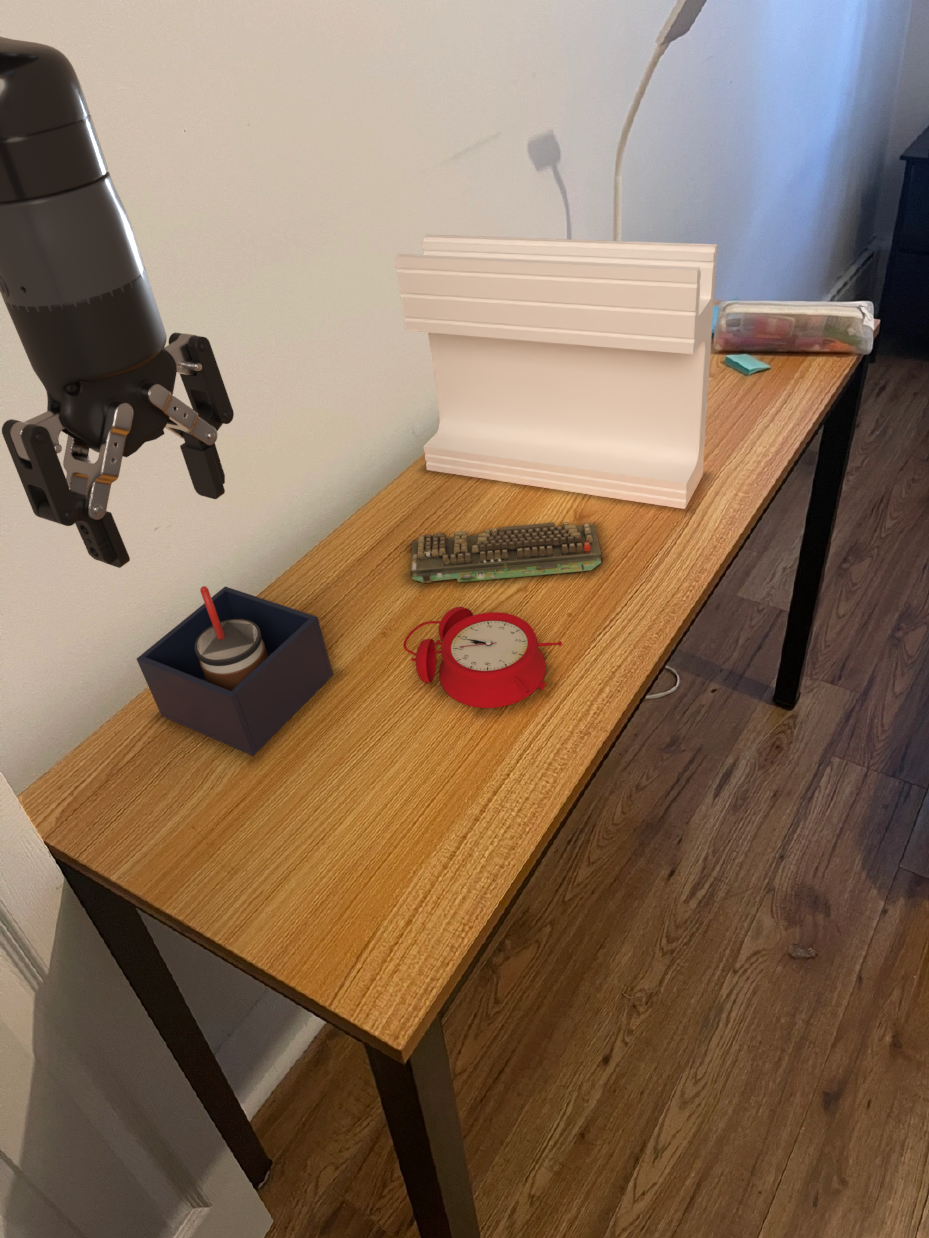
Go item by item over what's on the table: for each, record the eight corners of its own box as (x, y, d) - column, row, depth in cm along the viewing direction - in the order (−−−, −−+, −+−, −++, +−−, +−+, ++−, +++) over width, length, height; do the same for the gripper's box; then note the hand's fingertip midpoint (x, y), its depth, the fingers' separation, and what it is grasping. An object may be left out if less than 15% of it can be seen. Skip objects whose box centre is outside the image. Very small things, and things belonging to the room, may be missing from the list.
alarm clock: (524, 698, 81) (382, 629, 85) (515, 740, 86) (380, 673, 90) (572, 628, 88) (438, 568, 92) (561, 671, 92) (434, 612, 97)
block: (702, 475, 114) (717, 244, 96) (685, 509, 108) (697, 270, 91) (453, 441, 128) (426, 234, 110) (426, 469, 122) (394, 256, 105)
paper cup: (292, 691, 90) (258, 578, 81) (251, 731, 86) (210, 617, 77) (247, 673, 93) (208, 562, 84) (205, 711, 89) (160, 600, 80)
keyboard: (595, 526, 108) (595, 512, 106) (605, 571, 101) (605, 556, 99) (412, 542, 109) (410, 528, 108) (409, 588, 102) (406, 573, 101)
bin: (253, 756, 84) (231, 697, 80) (161, 716, 90) (135, 658, 85) (333, 674, 92) (317, 616, 87) (244, 642, 98) (225, 586, 93)
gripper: (5, 333, 43) (122, 603, 53) (214, 237, 52) (280, 484, 62) (-86, 316, 46) (40, 573, 56) (124, 230, 55) (201, 465, 65)
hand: (165, 526), depth 59 cm, fingers open, 8 cm apart
